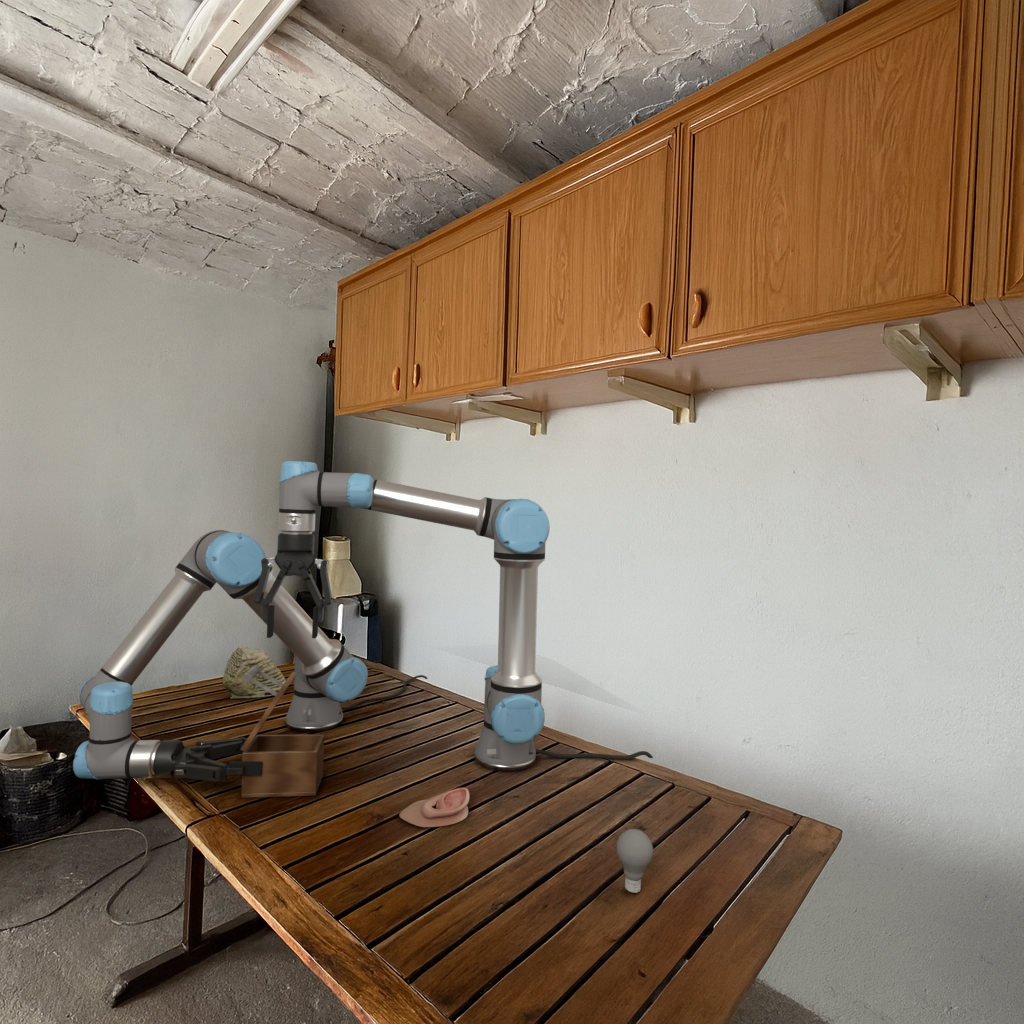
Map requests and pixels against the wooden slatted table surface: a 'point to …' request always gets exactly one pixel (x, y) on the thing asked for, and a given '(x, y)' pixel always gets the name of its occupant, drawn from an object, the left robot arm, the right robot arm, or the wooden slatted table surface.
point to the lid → (250, 678)
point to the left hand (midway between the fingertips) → (268, 757)
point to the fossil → (241, 665)
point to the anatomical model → (438, 809)
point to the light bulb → (634, 857)
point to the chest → (285, 765)
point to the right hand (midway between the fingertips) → (292, 636)
